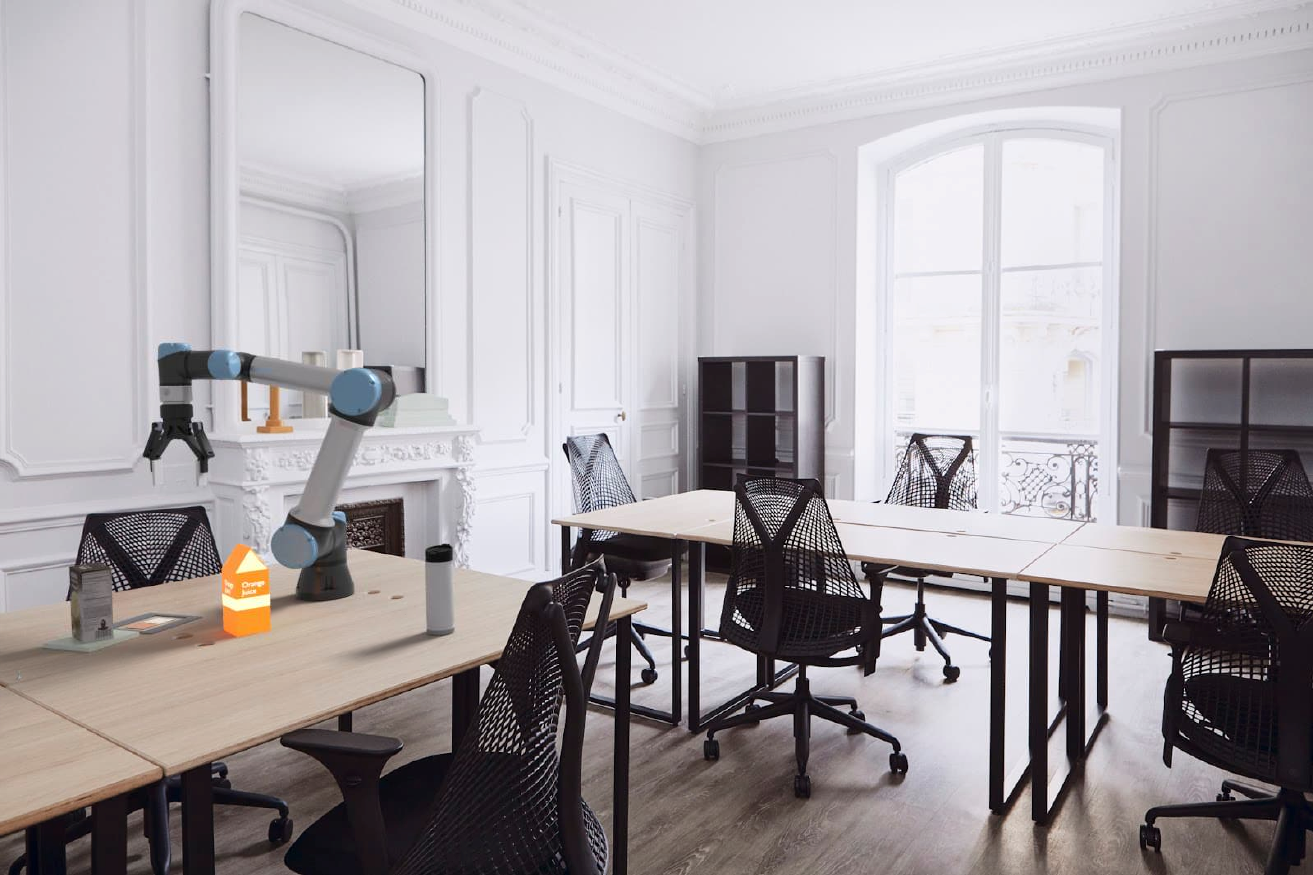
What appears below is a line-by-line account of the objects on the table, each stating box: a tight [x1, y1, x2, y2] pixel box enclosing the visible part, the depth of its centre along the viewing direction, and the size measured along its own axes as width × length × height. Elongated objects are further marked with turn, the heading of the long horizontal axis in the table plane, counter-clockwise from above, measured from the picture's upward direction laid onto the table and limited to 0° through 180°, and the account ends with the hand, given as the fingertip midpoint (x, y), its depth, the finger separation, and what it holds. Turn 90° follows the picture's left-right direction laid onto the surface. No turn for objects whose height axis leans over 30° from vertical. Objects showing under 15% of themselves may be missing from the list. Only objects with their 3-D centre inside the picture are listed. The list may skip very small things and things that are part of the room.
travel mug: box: [424, 543, 455, 636], centre depth 206 cm, size 6×7×20 cm
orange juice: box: [221, 543, 272, 638], centre depth 209 cm, size 8×9×20 cm
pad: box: [42, 630, 140, 653], centre depth 201 cm, size 13×13×1 cm
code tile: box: [113, 612, 203, 635], centre depth 216 cm, size 16×15×1 cm
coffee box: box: [68, 561, 114, 644], centre depth 200 cm, size 9×6×16 cm
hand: (179, 485), depth 232 cm, fingers open, 13 cm apart
